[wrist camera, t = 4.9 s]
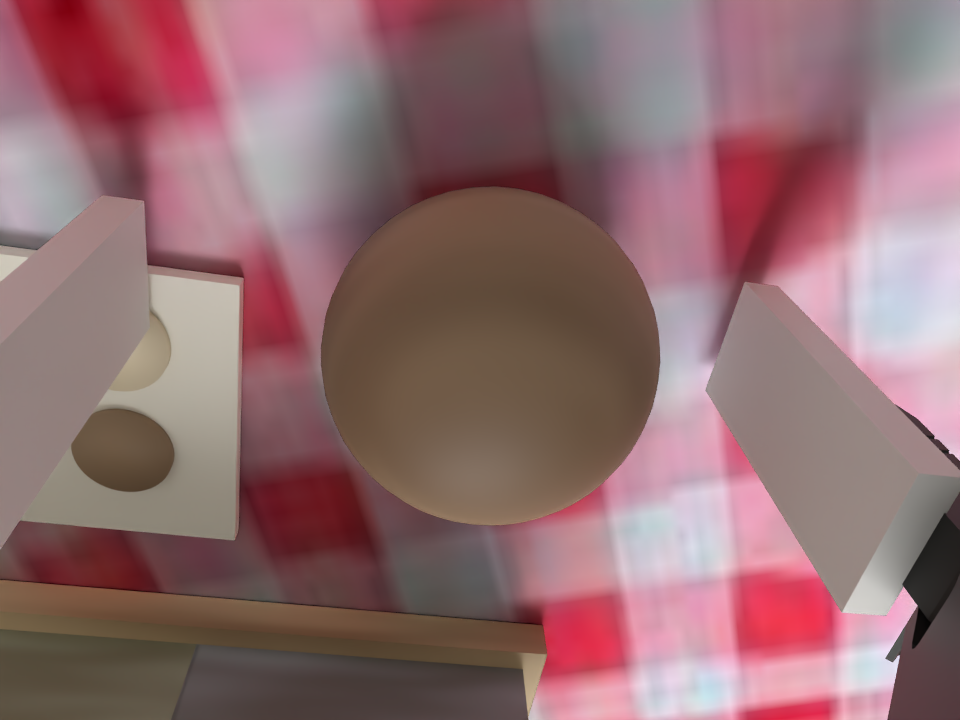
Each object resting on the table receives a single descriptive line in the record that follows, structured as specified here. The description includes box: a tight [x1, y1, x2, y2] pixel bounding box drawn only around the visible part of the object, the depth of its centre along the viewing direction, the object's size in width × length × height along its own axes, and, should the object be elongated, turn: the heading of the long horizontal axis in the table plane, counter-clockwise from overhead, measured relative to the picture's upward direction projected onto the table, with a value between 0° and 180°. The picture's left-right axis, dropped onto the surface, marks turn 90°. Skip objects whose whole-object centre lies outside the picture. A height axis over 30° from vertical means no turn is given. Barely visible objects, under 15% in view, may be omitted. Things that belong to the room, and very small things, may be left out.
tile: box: [0, 245, 244, 541], centre depth 17 cm, size 7×10×1 cm
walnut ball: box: [321, 186, 660, 525], centre depth 14 cm, size 6×6×6 cm
